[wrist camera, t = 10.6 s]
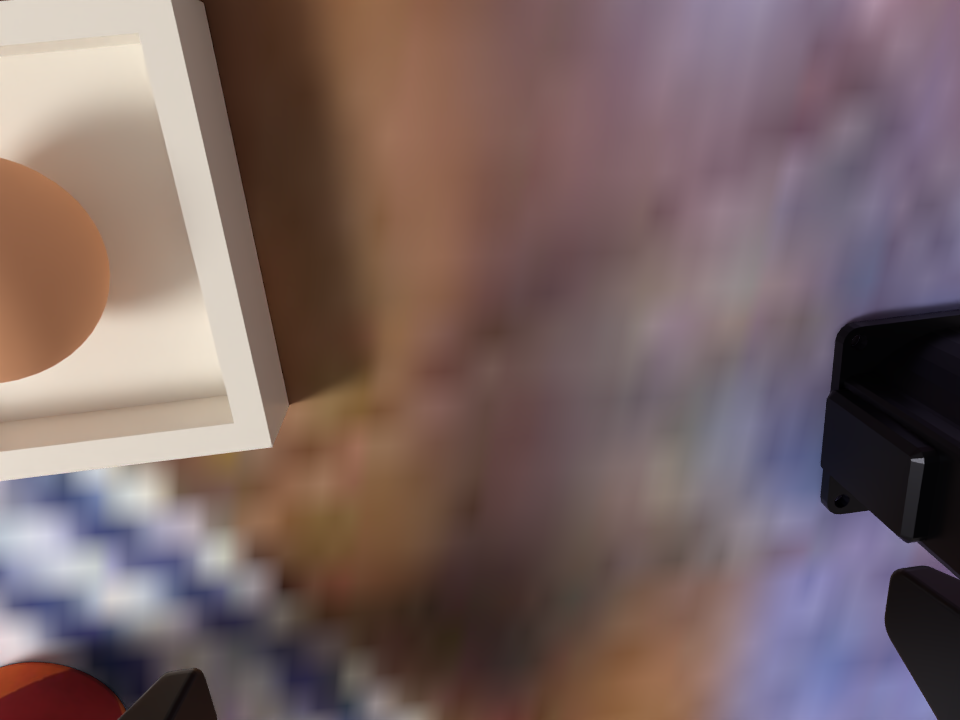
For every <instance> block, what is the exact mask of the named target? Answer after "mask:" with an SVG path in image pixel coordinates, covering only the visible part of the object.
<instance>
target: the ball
mask: <svg viewBox="0 0 960 720" xmlns="http://www.w3.org/2000/svg"><path fill="white" fill-rule="evenodd" d="M109 285H110V268H109V260H108V255H107V251H106V248H105V245H104V242H103V239H102V237H101V235H100V233H99V231H98V229H97V227H96V225H95V223H94V222H93V220H92V219H91V217H90V216H89V214H88V213H87V212H86V211H85V209H84V208H83V207H82V206H81V205H80V204H79V202H78V201H77V200H76V199H75V198H74V197H72V196H71V195H70V194H69V193H68V192H67V191H66V190H65V189H63V188H62V187H61V186H59V185H58V184H57V183H55V182H54V181H52V180H50V179H49V178H47V177H45V176H44V175H42V174H40V173H39V172H37V171H35V170H33V169H31V168H28V167H26V166H24V165H22V164H19V163H16V162H13V161H10V160H7V159H3V158H0V383H5V382H10V381H15V380H19V379H22V378H26V377H29V376H32V375H35V374H38V373H40V372H43V371H45V370H47V369H49V368H51V367H53V366H54V365H56V364H58V363H59V362H61V361H62V360H64V359H65V358H67V357H68V356H70V355H71V354H72V353H73V352H74V351H76V350H77V349H78V348H79V347H80V346H81V345H82V344H83V343H84V342H85V341H86V339H87V338H88V337H89V336H90V334H91V333H92V332H93V331H94V329H95V327H96V325H97V324H98V322H99V320H100V318H101V316H102V314H103V311H104V309H105V306H106V303H107V299H108V294H109Z"/></svg>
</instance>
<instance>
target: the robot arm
mask: <svg viewBox="0 0 960 720" xmlns="http://www.w3.org/2000/svg"><path fill="white" fill-rule="evenodd" d="M857 335H859V336H860V338H859V341H858V342H857V343H856V344H855V345H853V346H851V342H852V339H853V338H854V337H855V336H857ZM821 467H822V468H823V475H822V486H821V496H820V497H821V502H822V503H823V505H824V506H825V507H826V508H827V509H828V510H829V511H830V512H832V513H834V514H846V513H853V512H860V511H868V510H869V511H871V512H872V513H873V514H874V515H875V516H876V517H877V518H878V519H879V520H881V521H882V522H883V523H884V524H885V525H886V526H887V527H888V528H889V529H891V530H892V531H893V532H894V533H895V534H896V535H897V536H898V537H900V538H901V539H902V540H903V541H905V542H907V543H912V542H918V543H919V544H920V545H921V546H922V547H923V548H925V549H926V550H927V551H928V552H929V553H930V554H931V555H933V556H934V557H935V558H936V559H937V560H938V561H939V562H940V563H942V564H943V565H944V566H945V567H946V568H947V569H948V570H950V571H951V572H952V573H953V574H954V575H955V576H956V577H958V578H959V579H960V310H953V311H945V312H936V313H928V314H920V315H911V316H903V317H895V318H887V319H878V320H870V321H862V322H853V323H850V324H847V325H845V326H844V327H843V328H841V330H840V331H839V332H838V334H837V337H836V340H835V350H834V361H833V371H832V382H831V392H830V394H829V396H828V398H827V402H826V413H825V424H824V434H823V445H822V455H821ZM839 495H842V497H841V498H840V499H839V500H837V501H835V499H836V498H837V497H838V496H839ZM959 579H957V578H954V577H952V576H950V575H948V574H945V573H943V572H941V571H938V570H936V569H934V568H931V567H928V566H916V567H908V568H901V569H898V570H895V571H894V572H893V574H892V575H891V578H890V583H889V590H888V597H887V604H886V611H885V627H886V630H887V633H888V636H889V638H890V640H891V641H892V643H893V645H894V647H895V648H896V650H897V652H898V653H899V655H900V657H901V658H902V660H903V662H904V663H905V665H906V667H907V668H908V670H909V672H910V674H911V675H912V677H913V679H914V680H915V682H916V684H917V685H918V687H919V689H920V690H921V692H922V694H923V695H924V697H925V699H926V701H927V702H928V704H929V706H930V707H931V709H932V711H933V712H934V714H935V716H936V717H937V719H938V720H960V580H959ZM118 720H217V715H216V712H215V709H214V705H213V702H212V699H211V696H210V692H209V689H208V686H207V683H206V679H205V677H204V674H203V673H202V671H201V670H199V669H197V668H191V669H184V670H177V671H171V672H168V673H166V674H164V675H163V676H162V677H160V678H159V679H158V680H157V681H156V682H155V683H154V684H153V685H152V686H151V687H150V688H149V689H148V690H147V691H146V692H145V693H144V694H143V695H142V696H141V697H140V698H139V699H138V700H137V701H136V702H135V703H134V704H133V705H132V706H131V707H130V708H129V709H128V710H127V711H126V712H125V713H124V714H123V715H122V716H121V717H120V718H119V719H118Z"/></svg>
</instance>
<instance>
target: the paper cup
mask: <svg viewBox="0 0 960 720" xmlns="http://www.w3.org/2000/svg"><path fill="white" fill-rule="evenodd" d="M125 712H126V710H125V708H124V706H123V704H122V702H121V701H120V700H119V698H118V697H117V696H116V695H115V694H114V692H113V691H112V690H110V689H109V688H108V687H107V686H106V685H105V684H103V683H102V682H100V681H99V680H97V679H96V678H94V677H92V676H90V675H88V674H86V673H84V672H82V671H79V670H77V669H74V668H71V667H67V666H63V665H59V664H53V663H44V662H26V663H17V664H12V665H7V666H4V667H1V668H0V720H118V719H119V718H120V717H121V716H122V715H123V714H124V713H125Z"/></svg>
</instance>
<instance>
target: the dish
mask: <svg viewBox="0 0 960 720" xmlns="http://www.w3.org/2000/svg"><path fill="white" fill-rule="evenodd" d="M0 158H3V159H7V160H10V161H13V162H16V163H19V164H22V165H24V166H26V167H28V168H31V169H33V170H35V171H37V172H39V173H40V174H42V175H44V176H45V177H47V178H49V179H50V180H52V181H54V182H55V183H57V184H58V185H59V186H61V187H62V188H63V189H65V190H66V191H67V192H68V193H69V194H70V195H71V196H72V197H74V198H75V199H76V200H77V201H78V202H79V204H80V205H81V206H82V207H83V208H84V209H85V211H86V212H87V213H88V214H89V216H90V217H91V219H92V220H93V222H94V223H95V225H96V227H97V229H98V231H99V233H100V235H101V237H102V239H103V242H104V245H105V248H106V251H107V255H108V260H109V268H110V285H109V294H108V299H107V303H106V306H105V309H104V311H103V314H102V316H101V318H100V320H99V322H98V324H97V325H96V327H95V329H94V331H93V332H92V333H91V334H90V336H89V337H88V338H87V339H86V341H85V342H84V343H83V344H82V345H81V346H80V347H79V348H78V349H77V350H76V351H74V352H73V353H72V354H71V355H70V356H68V357H67V358H65V359H64V360H62V361H61V362H59V363H58V364H56V365H54V366H53V367H51V368H49V369H47V370H45V371H43V372H40V373H38V374H35V375H32V376H29V377H26V378H22V379H19V380H15V381H10V382H5V383H0V481H5V480H13V479H21V478H29V477H37V476H45V475H53V474H61V473H69V472H77V471H85V470H93V469H101V468H109V467H117V466H125V465H133V464H141V463H149V462H157V461H165V460H173V459H181V458H189V457H197V456H205V455H213V454H221V453H229V452H237V451H246V450H254V449H262V448H270V447H273V444H274V442H275V439H276V437H277V434H278V432H279V429H280V427H281V424H282V422H283V419H284V417H285V415H286V412H287V410H288V407H289V403H288V398H287V393H286V389H285V384H284V379H283V375H282V370H281V365H280V360H279V356H278V351H277V346H276V341H275V337H274V332H273V327H272V323H271V318H270V313H269V308H268V304H267V299H266V294H265V290H264V285H263V280H262V275H261V271H260V266H259V261H258V257H257V252H256V247H255V242H254V238H253V233H252V228H251V224H250V219H249V214H248V209H247V205H246V200H245V195H244V191H243V186H242V181H241V176H240V172H239V167H238V162H237V157H236V153H235V148H234V143H233V139H232V134H231V129H230V124H229V120H228V115H227V110H226V106H225V101H224V96H223V91H222V87H221V82H220V77H219V73H218V68H217V63H216V58H215V54H214V49H213V44H212V40H211V35H210V30H209V25H208V21H207V16H206V11H205V7H204V3H203V2H201V1H199V0H9V1H0Z"/></svg>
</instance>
